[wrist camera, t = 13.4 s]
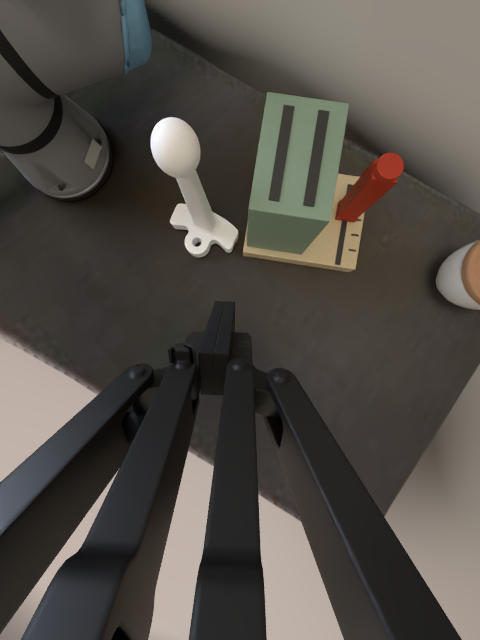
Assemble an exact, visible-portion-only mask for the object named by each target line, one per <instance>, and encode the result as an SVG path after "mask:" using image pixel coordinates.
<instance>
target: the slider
mask: <svg viewBox="0 0 480 640" xmlns="http://www.w3.org/2000/svg"><path fill="white" fill-rule="evenodd" d="M403 168H404V164H403V160H402V159H401V158H400V156H399V155H397V154H395V153H386V154H384V155H382V156H381V157H380V158H379V159H374V160H373V162H372V163H371V164H370V165H369V167H368V168H367V169H366V170H365V172H364V173H363V174H362V175H361V177H360V178H359V179H358V180H357V181H356V183H355V184H354V185H353V186H352V188H351V189H350V190H349V191H348V193H347V194H346V195H345V196H344V198H343V199H342V200H340V201H339V202H338V205H337V211H336V217H335V220H342V221H348V222H356V221H357V220H358V217H359V216H361V215H362V214H363V213H364V212H365V211H366V210H367V209H368V208H369V207H370V206H372V205H373V204H374V203H375V202H376V201H377V200H378V199H379V198H380V197H382V196H383V195H384V194H385V193H386V192H387V191H388V190H389V189H390V188H392V187H393V186H394V185H395V184H396V183H397V179H398V177H399V176H400V174H401V173H402V171H403Z"/></svg>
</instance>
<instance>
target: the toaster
mask: <svg viewBox="0 0 480 640" xmlns="http://www.w3.org/2000/svg"><path fill="white" fill-rule="evenodd" d="M348 108H349V104H347V103H340V102H334V101H327V100H320V99H313V98H306V97H299V96H292V95H284V94H278V93H271V92H268V93H267V97H266V103H265V109H264V115H263V121H262V128H261V134H260V140H259V146H258V152H257V158H256V165H255V171H254V177H253V183H252V189H251V195H250V202H249V208H248V223H247V229H246V235H245V241H244V247H243V256H247V257H254V258H260V259H266V260H273V261H279V262H285V263H292V264H298V265H305V266H311V267H317V268H324V269H330V270H336V271H343V272H351V271H353V270H355V269H356V263H357V256H358V250H359V244H360V238H361V232H362V225H363V219H364V213H365V212H364V213H363V214H362V215H361V216H359V217H358V220H357V221H356V222H348V221H342V220H335V217H336V211H337V205H338V202H339V201H340V200H342V199H343V198H344V196H345V195H346V194H347V193H348V191H349V190H350V189H351V188H352V186H353V185H354V184H355V183H356V181H357V180H358V179H359V178H360V177H357V176H350V175H343V174H338V170H339V164H340V158H341V151H342V145H343V139H344V133H345V127H346V120H347V114H348Z"/></svg>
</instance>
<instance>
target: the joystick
mask: <svg viewBox="0 0 480 640" xmlns="http://www.w3.org/2000/svg"><path fill="white" fill-rule="evenodd" d="M151 151H152V154H153V157H154V159H155V161H156V163H157V165H158V166H159V167H160V168H161V169H162V170H163V171H164V172H165V173H166V174H168V175H170V176H172V177H175V178H176V180H177V182H178V185H179V187H180V190H181V192H182V195H183V197H184V200H185V202H186V204H177V206H176V208H175V210H174V212H173V214H172V216H171V219H170V223H171V224H172V226H173V227H174V228H175V229H180V230H188V231H189V232H188V234H187V236H186V238H185V247H186V249H187V250H188V251H189V253H190V254H191V255H193V256H194V257H203V256H205V255H207V254H208V252H209V251H210V247H211V245H212V244H219V245H220V246H221V247H222V248H223V249H224V250H225V251H226V252H227V253H230V252H232V250H233V247H234V245H235V242H237V240H238V230H237V229H236V228H235V227H234V226H233V225H232V224H231V223H229V222H228V221H227V220H225V219H224V218H222V217H221V216H219V215H217V214H216V213H214V212H212V210H211V207H210V205H209V202H208V200H207V197H206V195H205V192H204V190H203V187H202V185H201V182H200V180H199V177H198V174H197V172H196V168H197V166H198V164H199V161H200V144H199V141H198V138H197V136H196V134H195V132H194V131H193V129H192V128H191V127H190V126H189V125H188V124H187V123H186V122H184V121H183V120H181V119H178V118H174V117H168V118H165V119H162V120H161V121H159V122H158V123H157V124H156V126H155V127H154V129H153V131H152V134H151ZM198 242H201V245H200V246H198V247H195V245H196V243H198Z"/></svg>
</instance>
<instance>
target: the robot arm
mask: <svg viewBox="0 0 480 640" xmlns="http://www.w3.org/2000/svg"><path fill="white" fill-rule="evenodd" d="M151 51H152V41H151V33H150V28H149V22H148V17H147V13H146V8H145V4H144V0H0V150H1V151H2V152H3V153H4V154H5V155H6V156H7V157H8V159H9V160H10V161H11V162H12V163H13V164H14V165H15V167H16V168H17V169H18V170H19V171H20V172H21V173H22V175H23V176H24V177H25V178H26V179H27V180H28V181H29V182H30V183H31V184H32V185H33V186H34V187H36V188H37V189H38V190H40V191H41V192H43V193H45V194H46V195H48V196H50V197H52V198H54V199H57V200H61V201H78V200H82V199H85V198H87V197H89V196H91V195H93V194H94V193H96V192H97V191H98V190H99V189H100V188H101V187H102V186H103V185H104V183H105V182H106V180H107V179H108V177H109V175H110V172H111V169H112V164H113V151H112V146H111V143H110V140H109V138H108V136H107V134H106V133H105V132H104V130H103V129H102V127H101V126H100V125H99V123H98V122H97V121H96V120H95V119H94V118H93V117H92V116H91V115H90V114H89V113H87V112H86V111H85V110H84V109H82V108H81V107H80V106H78V105H77V104H76V103H74V102H73V101H72V100H71V99H69V98H68V97H67V96H65V95H64V94H66V93H69V92H72V91H75V90H78V89H81V88H84V87H87V86H90V85H93V84H96V83H99V82H102V81H105V80H108V79H111V78H114V77H116V76H119V75H123V76H125V75H126V74H128V71H130V70H132V69H134V68H137V67H139V66H141V65H143V64H145V63H146V62H147V61H148V59H149V57H150V55H151ZM168 353H169V360H170V365H169V367H167V368H163V369H158V370H153V368H152V367H151V366H150V365H148V364H137V365H134V366H131V367H129V368H128V369H127V370H125V371H124V372H123V373H122V374H121V375H120V376H119V377H117V378H116V379H115V380H114V381H113V382H112V383H111V384H110V385H109V386H107V387H106V388H105V389H104V390H103V391H102V392H101V393H100V394H99V395H97V396H96V397H95V398H94V399H93V400H92V401H91V402H90V403H89V404H87V405H86V406H85V407H84V408H83V409H82V410H81V411H80V412H78V413H77V414H76V415H75V416H74V417H73V418H72V419H71V420H70V421H68V422H67V423H66V424H65V425H64V426H63V427H62V428H61V429H59V430H58V431H57V432H56V433H55V434H54V435H53V436H52V437H50V439H48V440H47V441H46V442H45V443H44V444H43V445H42V446H40V447H39V448H38V449H37V450H36V451H35V452H34V453H33V454H32V455H30V456H29V457H28V458H27V459H26V460H25V461H24V462H23V463H22V464H20V465H19V466H18V467H17V468H16V469H15V470H14V471H13V472H11V474H9V475H8V476H7V477H6V478H5V479H4V480H2V481H1V482H0V634H1V632H2V631H3V629H4V628H5V627H6V625H7V623H8V622H9V621H10V620H11V618H12V617H13V615H14V614H15V613H16V611H17V610H18V608H19V607H20V606H21V604H22V603H23V602H24V600H25V599H26V597H27V596H28V595H29V593H30V592H31V590H32V589H33V588H34V586H35V585H36V584H37V582H38V581H39V579H40V578H41V577H42V575H43V574H44V572H45V571H46V570H47V568H48V567H49V565H50V564H51V563H52V561H53V560H54V558H55V557H56V556H57V554H58V553H59V551H60V550H61V549H62V547H63V546H64V545H65V543H66V542H67V540H68V539H69V538H70V536H71V535H72V533H73V532H74V531H75V529H76V528H77V527H78V525H79V524H80V522H81V521H82V520H83V518H84V517H85V515H86V514H87V512H88V511H89V510H90V508H91V507H92V506H93V504H94V503H95V502H96V500H97V499H98V497H99V496H100V494H101V493H102V492H103V490H104V489H105V488H106V486H107V484H108V483H109V482H110V481H111V479H112V478H113V476H114V475H115V474H116V472H117V471H118V470H119V471H118V473H117V475H116V477H115V479H114V481H113V483H112V485H111V487H110V490H109V492H108V494H107V496H106V498H105V500H104V502H103V504H102V506H101V508H100V510H99V512H98V514H97V517H96V519H95V521H94V523H93V525H92V527H91V529H90V531H89V533H88V535H87V537H86V539H85V541H84V543H83V545H82V547H81V548H80V549H79V551H78V552H77V553H76V554H74V555H73V556H71V557H70V558H68V559H67V560H66V561H65V562H64V563H63V565H62V566H61V567H60V569H59V570H58V571H57V573H56V575H55V576H54V578H53V579H52V581H51V583H50V585H49V586H48V588H47V590H46V592H45V594H44V596H43V598H42V600H41V602H40V604H39V606H38V608H37V610H36V612H35V613H34V615H33V617H32V619H31V621H30V623H29V625H28V627H27V629H26V631H25V633H24V634H23V637H22V638H21V640H148V637H149V633H150V627H151V623H152V616H153V610H154V596H155V588H156V584H157V579H158V575H159V571H160V567H161V562H162V558H163V554H164V550H165V545H166V541H167V537H168V533H169V528H170V524H171V520H172V516H173V512H174V507H175V503H176V499H177V495H178V490H179V486H180V482H181V478H182V473H183V469H184V465H185V460H186V457H187V452H188V448H189V444H190V440H191V436H192V431H193V427H194V423H195V419H196V414H197V410H198V406H199V392H200V388H201V394H204V395H223V400H222V408H221V416H220V424H219V432H218V439H217V447H216V455H215V463H214V471H213V479H212V487H211V495H210V502H209V510H208V519H207V526H206V534H205V542H204V550H203V555H202V560H201V563H200V566H199V571H198V577H197V583H196V590H195V597H194V605H193V613H192V619H191V627H190V635H189V640H266V618H265V596H264V578H263V568H262V564H261V554H260V530H259V505H258V504H259V503H258V477H257V451H256V425H255V412H256V413H258V414H261V415H264V420H265V422H266V425H267V428H268V431H269V434H270V436H271V439H272V442H273V445H274V447H275V450H276V453H277V456H278V458H279V461H280V464H281V467H282V469H283V472H284V475H285V478H286V480H287V483H288V486H289V489H290V492H291V494H292V497H293V500H294V503H295V505H296V508H297V511H298V514H299V516H300V519H301V522H302V525H303V527H304V530H305V533H306V535H307V538H308V541H309V544H310V546H311V549H312V552H313V555H314V558H315V561H316V563H317V566H318V569H319V572H320V574H321V577H322V580H323V582H324V585H325V588H326V591H327V594H328V596H329V599H330V602H331V605H332V607H333V610H334V613H335V616H336V618H337V621H338V624H339V627H340V630H341V632H342V635H343V638H344V640H462V639H461V638H460V636H459V635H458V633H457V632H456V630H455V628H454V627H453V625H452V624H451V622H450V620H449V619H448V617H447V616H446V614H445V613H444V611H443V610H442V608H441V606H440V605H439V603H438V601H437V600H436V598H435V597H434V595H433V594H432V592H431V591H430V589H429V587H428V586H427V584H426V583H425V581H424V579H423V578H422V576H421V575H420V573H419V571H418V570H417V569H416V567H415V565H414V564H413V562H412V560H411V559H410V557H409V556H408V554H407V553H406V551H405V549H404V548H403V546H402V545H401V543H400V541H399V540H398V538H397V537H396V535H395V533H394V532H393V530H392V529H391V527H390V526H389V524H388V523H387V521H386V519H385V518H384V516H383V514H382V513H381V511H380V510H379V508H378V507H377V505H376V503H375V502H374V500H373V499H372V497H371V496H370V494H369V492H368V491H367V489H366V488H365V486H364V484H363V483H362V481H361V480H360V478H359V477H358V475H357V473H356V472H355V470H354V469H353V467H352V465H351V464H350V462H349V461H348V459H347V458H346V456H345V454H344V453H343V451H342V450H341V448H340V446H339V445H338V443H337V442H336V440H335V439H334V437H333V435H332V434H331V432H330V431H329V429H328V428H327V426H326V424H325V423H324V421H323V420H322V418H321V416H320V415H319V413H318V412H317V410H316V409H315V407H314V405H313V404H312V402H311V401H310V399H309V397H308V396H307V394H306V393H305V391H304V390H303V388H302V386H301V385H300V383H299V382H298V380H297V378H296V377H295V375H294V374H293V373H292V372H290V371H289V370H287V369H283V368H275V369H272V370H271V371H269V373H265V372H262V371H260V370H258V369H256V368H255V367H254V365H253V363H252V343H251V336H250V335H249V334H248V333H235V302H221V301H215V303H214V306H213V309H212V312H211V315H210V318H209V321H208V324H207V327H206V330H205V332H192V333H191V334H189V335H188V337H187V339H186V341H185V343H180V344H176V345H174V346H172V347H170V348H169V350H168ZM119 468H120V469H119Z"/></svg>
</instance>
